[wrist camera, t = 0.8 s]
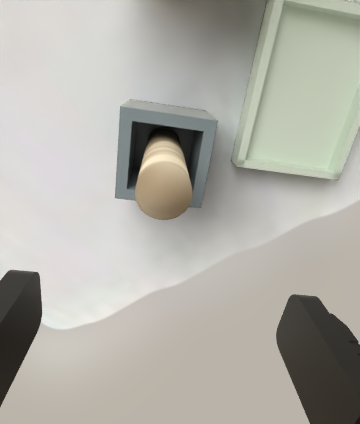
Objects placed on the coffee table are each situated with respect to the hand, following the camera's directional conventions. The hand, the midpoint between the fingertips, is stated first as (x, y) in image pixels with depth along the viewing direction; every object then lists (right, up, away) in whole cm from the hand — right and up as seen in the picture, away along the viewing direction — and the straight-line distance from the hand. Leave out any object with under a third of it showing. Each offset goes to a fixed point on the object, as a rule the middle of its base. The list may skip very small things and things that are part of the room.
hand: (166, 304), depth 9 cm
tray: (+13, +15, +22) cm, 30 cm away
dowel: (-1, +10, +22) cm, 25 cm away
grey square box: (-1, +11, +23) cm, 26 cm away
